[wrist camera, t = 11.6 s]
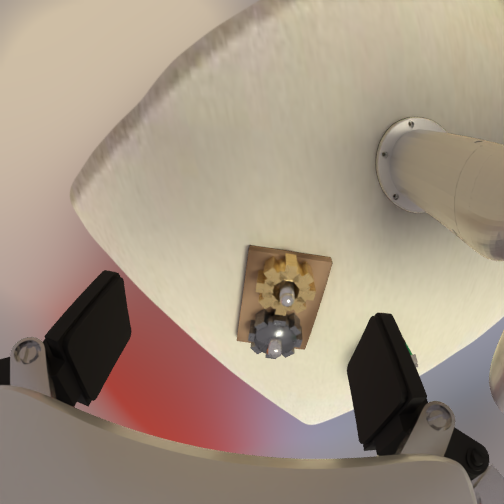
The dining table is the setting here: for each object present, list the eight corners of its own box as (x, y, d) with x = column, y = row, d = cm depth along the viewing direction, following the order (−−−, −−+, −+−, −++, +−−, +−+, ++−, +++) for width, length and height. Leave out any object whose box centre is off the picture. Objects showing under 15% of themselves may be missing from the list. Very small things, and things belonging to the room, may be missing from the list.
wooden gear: (318, 258, 36) (322, 270, 33) (305, 304, 39) (307, 318, 36) (262, 249, 36) (260, 261, 33) (254, 296, 39) (252, 310, 36)
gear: (306, 310, 40) (309, 336, 35) (294, 347, 43) (295, 373, 38) (253, 303, 40) (250, 329, 35) (247, 341, 43) (243, 367, 38)
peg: (294, 274, 37) (296, 298, 32) (291, 286, 38) (293, 310, 33) (281, 272, 37) (281, 296, 32) (278, 284, 38) (278, 308, 33)
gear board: (330, 257, 37) (332, 262, 36) (304, 343, 44) (304, 349, 43) (249, 245, 38) (248, 250, 36) (237, 334, 45) (236, 340, 43)
